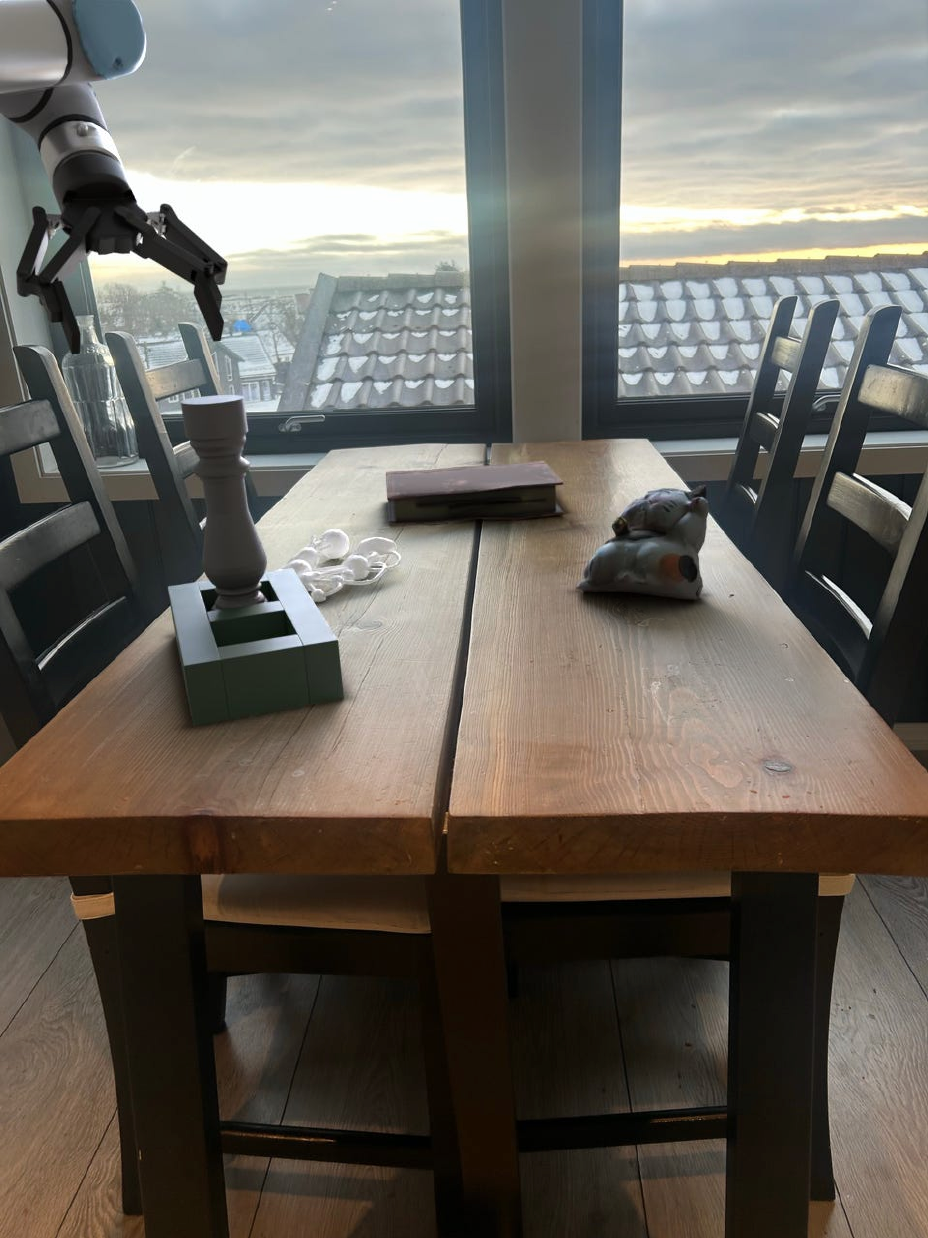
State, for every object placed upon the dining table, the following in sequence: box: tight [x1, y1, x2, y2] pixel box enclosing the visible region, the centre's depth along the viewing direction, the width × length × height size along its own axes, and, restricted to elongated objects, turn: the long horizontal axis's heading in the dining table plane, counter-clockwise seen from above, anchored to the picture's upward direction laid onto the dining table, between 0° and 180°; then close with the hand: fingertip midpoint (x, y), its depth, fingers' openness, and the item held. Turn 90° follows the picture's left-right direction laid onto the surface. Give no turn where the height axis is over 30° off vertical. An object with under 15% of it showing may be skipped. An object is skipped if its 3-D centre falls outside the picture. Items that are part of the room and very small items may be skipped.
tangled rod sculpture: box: [275, 528, 403, 603], centre depth 119 cm, size 19×14×4 cm
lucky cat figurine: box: [574, 484, 710, 603], centre depth 108 cm, size 15×12×14 cm
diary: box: [385, 460, 564, 526], centre depth 149 cm, size 19×25×5 cm
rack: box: [167, 568, 345, 727], centre depth 95 cm, size 13×23×6 cm, turn 19°
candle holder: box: [180, 394, 269, 611], centre depth 96 cm, size 6×6×25 cm
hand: (150, 338), depth 96 cm, fingers open, 13 cm apart
